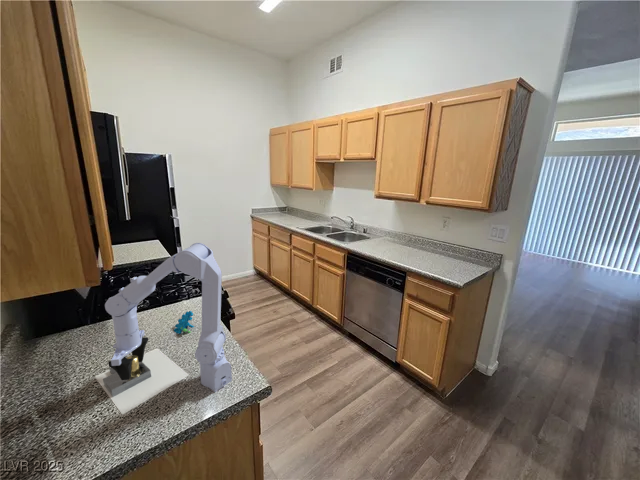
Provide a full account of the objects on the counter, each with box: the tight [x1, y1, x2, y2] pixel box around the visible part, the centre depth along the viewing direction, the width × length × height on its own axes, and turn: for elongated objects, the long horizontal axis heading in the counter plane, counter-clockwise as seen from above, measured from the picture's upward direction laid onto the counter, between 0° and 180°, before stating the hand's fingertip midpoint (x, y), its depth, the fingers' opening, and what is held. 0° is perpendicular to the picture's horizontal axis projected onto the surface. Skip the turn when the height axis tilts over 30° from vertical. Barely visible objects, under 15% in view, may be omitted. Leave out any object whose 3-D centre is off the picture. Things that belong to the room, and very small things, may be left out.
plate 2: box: [108, 367, 151, 390], centre depth 82 cm, size 12×7×2 cm, turn 55°
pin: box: [126, 354, 140, 378], centre depth 80 cm, size 3×3×7 cm
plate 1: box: [103, 362, 151, 397], centre depth 80 cm, size 7×10×2 cm
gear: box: [173, 310, 195, 335], centre depth 108 cm, size 11×6×10 cm
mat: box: [94, 348, 190, 415], centre depth 82 cm, size 22×18×1 cm
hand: (132, 369), depth 80 cm, fingers open, 7 cm apart
